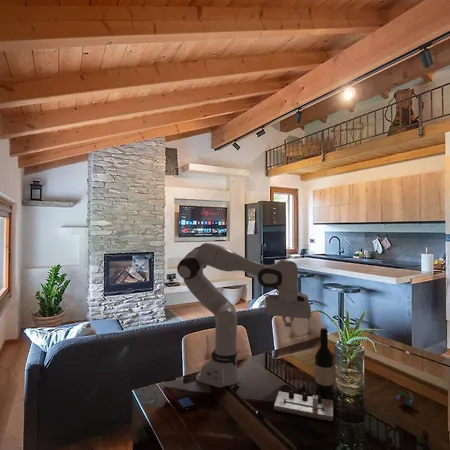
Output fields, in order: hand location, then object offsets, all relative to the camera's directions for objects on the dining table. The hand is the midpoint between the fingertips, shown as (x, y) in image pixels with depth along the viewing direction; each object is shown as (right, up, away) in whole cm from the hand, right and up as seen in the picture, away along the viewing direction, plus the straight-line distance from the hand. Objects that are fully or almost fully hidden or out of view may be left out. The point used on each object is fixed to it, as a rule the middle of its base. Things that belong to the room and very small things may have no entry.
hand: (288, 326), depth 139 cm
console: (+6, -34, -5) cm, 35 cm away
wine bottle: (+20, -35, +11) cm, 42 cm away
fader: (+10, -32, -8) cm, 34 cm away
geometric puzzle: (+51, -35, -3) cm, 62 cm away
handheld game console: (-48, -34, -4) cm, 59 cm away
